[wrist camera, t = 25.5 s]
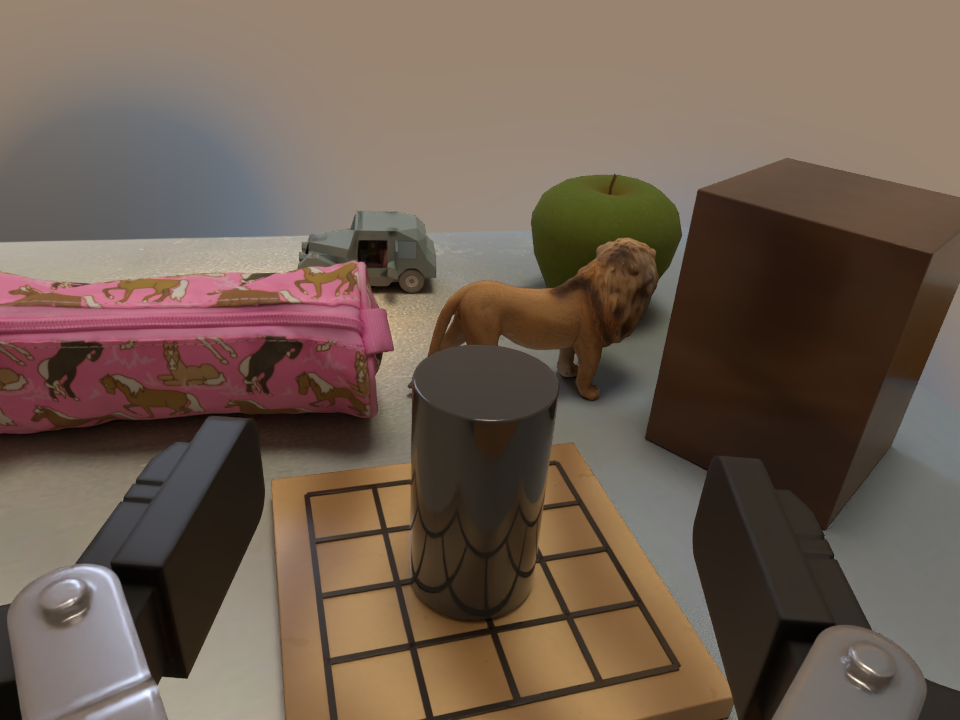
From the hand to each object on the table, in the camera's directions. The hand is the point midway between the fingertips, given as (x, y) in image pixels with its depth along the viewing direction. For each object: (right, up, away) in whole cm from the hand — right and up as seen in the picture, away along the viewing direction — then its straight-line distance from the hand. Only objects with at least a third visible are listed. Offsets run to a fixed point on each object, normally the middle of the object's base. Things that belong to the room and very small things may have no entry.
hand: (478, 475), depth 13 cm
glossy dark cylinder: (0, -6, +16) cm, 18 cm away
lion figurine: (+3, +1, +32) cm, 32 cm away
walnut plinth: (+16, -3, +28) cm, 32 cm away
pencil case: (-16, -1, +27) cm, 31 cm away
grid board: (0, -8, +17) cm, 19 cm away
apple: (+8, +6, +42) cm, 44 cm away
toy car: (-8, +7, +43) cm, 44 cm away
